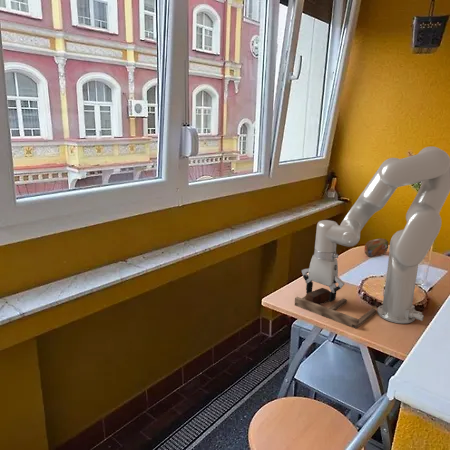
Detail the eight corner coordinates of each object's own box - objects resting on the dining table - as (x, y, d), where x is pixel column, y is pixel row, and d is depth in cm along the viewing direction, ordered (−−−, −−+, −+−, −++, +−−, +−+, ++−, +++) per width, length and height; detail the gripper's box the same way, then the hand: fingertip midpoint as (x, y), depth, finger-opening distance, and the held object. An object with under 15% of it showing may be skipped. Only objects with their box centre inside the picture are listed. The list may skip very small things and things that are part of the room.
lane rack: (375, 312, 146) (376, 305, 145) (356, 328, 135) (356, 320, 134) (316, 292, 162) (317, 285, 161) (294, 305, 151) (295, 297, 150)
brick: (312, 308, 149) (313, 297, 148) (304, 304, 152) (305, 293, 151) (330, 301, 155) (331, 289, 154) (322, 297, 158) (323, 286, 157)
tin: (367, 258, 201) (369, 242, 198) (362, 256, 203) (364, 240, 201) (387, 253, 208) (389, 238, 205) (382, 252, 210) (384, 236, 208)
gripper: (351, 257, 144) (346, 301, 149) (309, 246, 155) (305, 286, 160) (341, 263, 139) (336, 307, 143) (298, 250, 150) (295, 292, 155)
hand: (320, 296), depth 152 cm, fingers open, 9 cm apart
